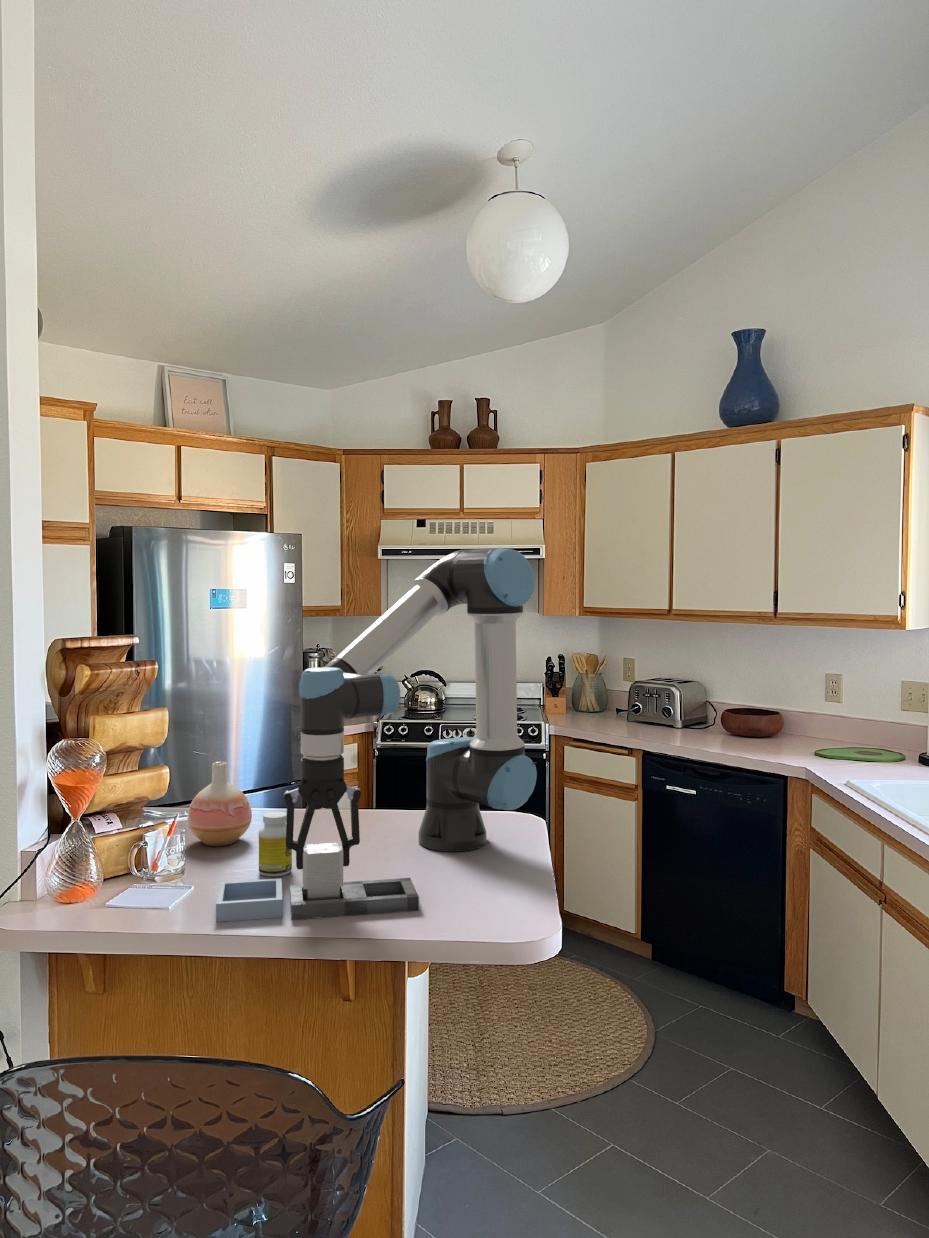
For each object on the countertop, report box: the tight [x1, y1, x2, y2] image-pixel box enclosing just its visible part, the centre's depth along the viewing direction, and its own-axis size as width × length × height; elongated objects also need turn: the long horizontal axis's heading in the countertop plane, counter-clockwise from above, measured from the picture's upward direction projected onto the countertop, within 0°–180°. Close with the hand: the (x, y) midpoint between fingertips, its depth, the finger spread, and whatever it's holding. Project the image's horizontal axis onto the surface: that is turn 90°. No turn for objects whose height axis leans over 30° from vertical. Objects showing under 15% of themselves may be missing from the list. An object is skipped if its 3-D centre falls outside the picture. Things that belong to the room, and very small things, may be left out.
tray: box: [215, 878, 283, 923], centre depth 157 cm, size 11×11×3 cm
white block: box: [305, 842, 340, 901], centre depth 157 cm, size 6×6×10 cm
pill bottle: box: [258, 811, 293, 878], centre depth 175 cm, size 6×6×12 cm
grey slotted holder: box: [289, 877, 420, 921], centre depth 159 cm, size 22×10×2 cm, turn 102°
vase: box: [187, 761, 253, 847], centre depth 195 cm, size 14×14×18 cm
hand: (323, 884), depth 157 cm, fingers closed on white block, 5 cm apart
